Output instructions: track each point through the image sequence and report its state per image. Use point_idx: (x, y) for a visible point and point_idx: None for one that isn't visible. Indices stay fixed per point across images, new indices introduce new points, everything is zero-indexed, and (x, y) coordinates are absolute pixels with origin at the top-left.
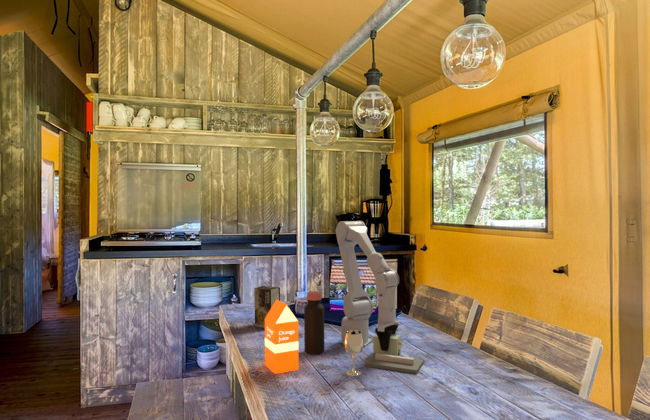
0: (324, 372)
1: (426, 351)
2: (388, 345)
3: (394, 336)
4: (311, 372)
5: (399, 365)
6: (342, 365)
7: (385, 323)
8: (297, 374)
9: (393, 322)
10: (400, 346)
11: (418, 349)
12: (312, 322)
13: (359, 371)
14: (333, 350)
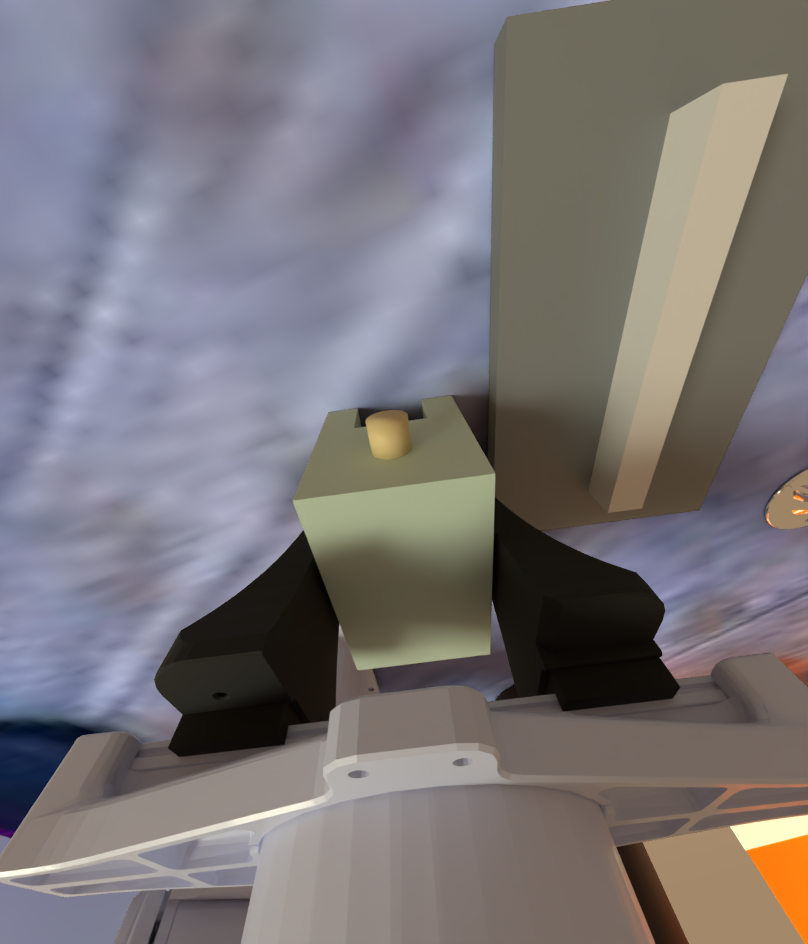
0: (786, 590)
1: (87, 189)
2: (498, 500)
3: (395, 533)
4: (783, 619)
5: (757, 259)
6: (683, 577)
7: (608, 792)
8: (805, 639)
9: (542, 771)
10: (329, 435)
11: (112, 308)
12: (672, 910)
13: (797, 481)
14: (483, 671)
